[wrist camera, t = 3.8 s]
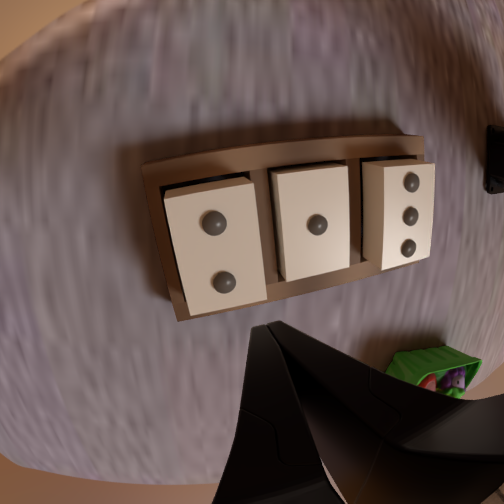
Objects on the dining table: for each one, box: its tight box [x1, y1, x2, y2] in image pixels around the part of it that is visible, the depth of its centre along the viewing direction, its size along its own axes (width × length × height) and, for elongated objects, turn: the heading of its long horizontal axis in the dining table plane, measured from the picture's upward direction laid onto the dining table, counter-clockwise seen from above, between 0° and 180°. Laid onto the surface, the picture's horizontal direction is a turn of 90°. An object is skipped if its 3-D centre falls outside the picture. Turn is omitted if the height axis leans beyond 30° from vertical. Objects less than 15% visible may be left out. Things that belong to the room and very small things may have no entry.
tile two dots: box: [164, 177, 267, 316], centre depth 15 cm, size 4×6×2 cm, turn 6°
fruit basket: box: [385, 346, 482, 399], centre depth 24 cm, size 11×9×11 cm
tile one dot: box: [267, 162, 350, 282], centre depth 17 cm, size 4×6×2 cm, turn 6°
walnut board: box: [141, 134, 424, 322], centre depth 18 cm, size 17×9×2 cm, turn 96°
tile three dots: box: [362, 159, 435, 270], centre depth 17 cm, size 4×6×2 cm, turn 6°
